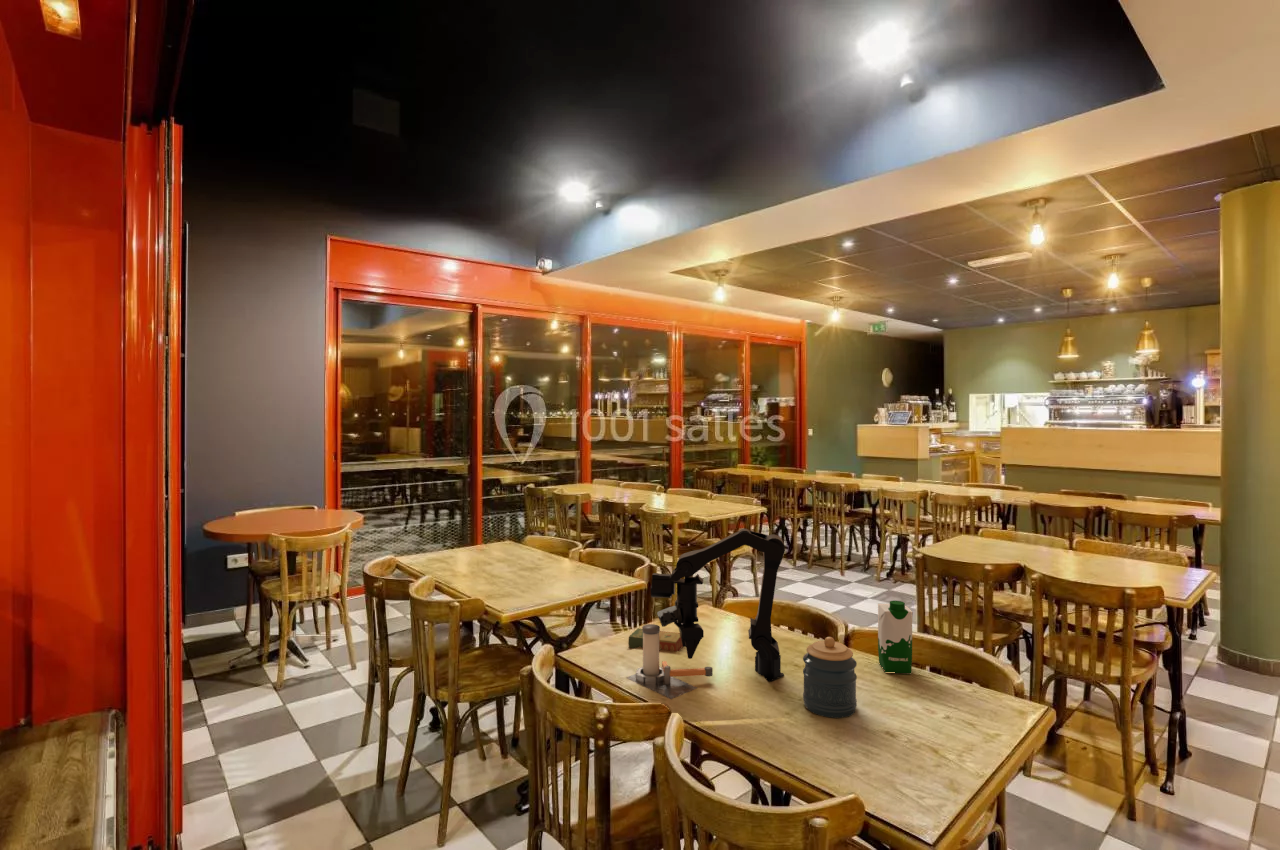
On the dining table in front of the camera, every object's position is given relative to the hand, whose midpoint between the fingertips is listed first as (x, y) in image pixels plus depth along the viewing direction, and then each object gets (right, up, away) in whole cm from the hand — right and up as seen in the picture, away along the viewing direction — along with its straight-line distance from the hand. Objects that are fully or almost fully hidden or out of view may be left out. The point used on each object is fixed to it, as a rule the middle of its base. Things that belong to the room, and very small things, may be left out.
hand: (687, 652), depth 181 cm
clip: (-1, -5, -7) cm, 8 cm away
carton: (-9, -6, +20) cm, 22 cm away
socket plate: (-8, -6, -10) cm, 14 cm away
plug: (-11, -5, -7) cm, 13 cm away
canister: (+34, -6, -22) cm, 41 cm away
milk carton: (+60, -5, +1) cm, 60 cm away
